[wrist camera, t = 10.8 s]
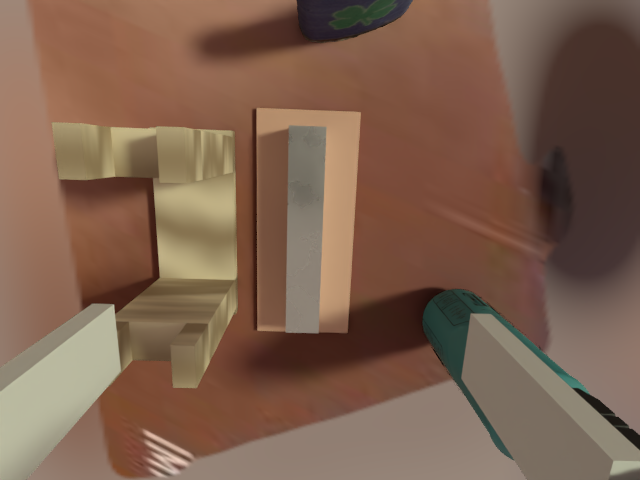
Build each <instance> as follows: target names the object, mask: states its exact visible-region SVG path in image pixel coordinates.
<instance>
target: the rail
mask: <svg viewBox="0 0 640 480" xmlns="http://www.w3.org/2000/svg"><path fill="white" fill-rule="evenodd" d="M326 130H327V127H320V126H295V125H289V145H288V209H287V273H286V333H319V310H320V284H321V258H322V233H323V207H324V181H325V155H326Z"/></svg>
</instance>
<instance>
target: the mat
mask: <svg viewBox="0 0 640 480" xmlns="http://www.w3.org/2000/svg"><path fill="white" fill-rule="evenodd" d="M360 115H361V112H346V111H321V110H296V109H272V108H257V331H286V273H287V209H288V145H289V125H295V126H320V127H327V130H326V155H325V181H324V207H323V233H322V258H321V284H320V310H319V332H328V333H348V318H349V301H350V284H351V267H352V250H353V234H354V217H355V200H356V183H357V166H358V149H359V132H360Z"/></svg>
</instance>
